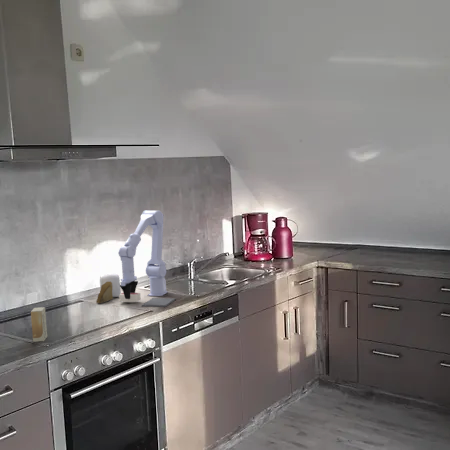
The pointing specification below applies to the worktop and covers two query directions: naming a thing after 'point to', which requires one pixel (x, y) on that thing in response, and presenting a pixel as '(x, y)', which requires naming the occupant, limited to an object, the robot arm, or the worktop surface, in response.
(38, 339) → the skincare box
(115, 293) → the photo printer
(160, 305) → the mat
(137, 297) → the card deck
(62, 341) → the worktop surface
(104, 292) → the rock
